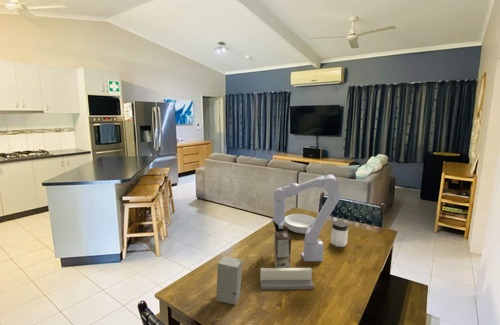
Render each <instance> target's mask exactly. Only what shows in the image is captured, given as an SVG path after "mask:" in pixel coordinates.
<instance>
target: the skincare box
mask: <svg viewBox="0 0 500 325" xmlns="http://www.w3.org/2000/svg"><path fill="white" fill-rule="evenodd" d="M242 268H243V259H239V258H235V257H229V256H224V255H223V256H222V257H221V259H220V260H219V262H218V263H217V274H216V275H217V276H216V277H217V278H216V295H215V296H216V297H215V298H216V302H220V303H224V304H225V303H226V304H230V305H234V306H236V305H237V303H238V301H239V299H240V296H241V287H242V272H243V271H242V270H243V269H242Z"/></svg>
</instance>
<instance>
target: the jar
mask: <svg viewBox="0 0 500 325" xmlns="http://www.w3.org/2000/svg"><path fill="white" fill-rule="evenodd" d="M330 234H331V235H330V244H332V245H333V246H335V247H340V248H341V247H342V248H345V247H346V246H347V244H348V238H349V236H348V235H349V224H348V223H347V222H345V221H342V220H335V221H333V222H332V227H331V233H330Z"/></svg>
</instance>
